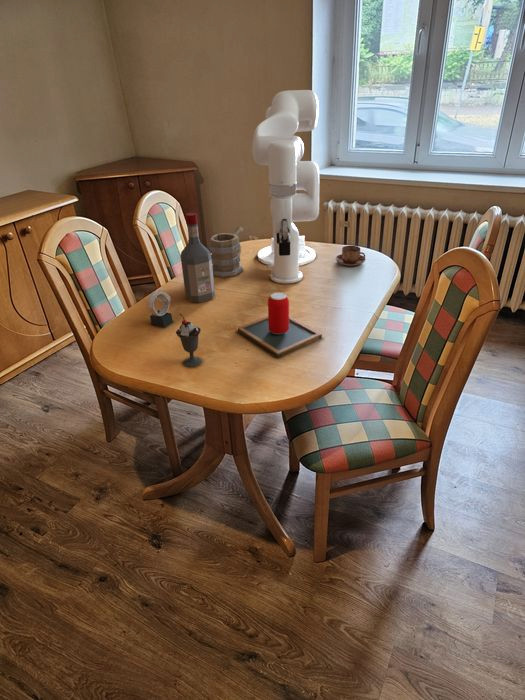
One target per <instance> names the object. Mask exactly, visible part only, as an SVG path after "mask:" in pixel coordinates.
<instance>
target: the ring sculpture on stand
mask: <svg viewBox="0 0 525 700" xmlns="http://www.w3.org/2000/svg"><path fill="white" fill-rule="evenodd" d="M156 299H158V300H159V301H161V303H162V307H161V309H159V310H157V309H156V308H155V305H154V304H155V300H156ZM171 299H172V298H171V296H170V295H169V294H168V293H166V292H165V291H163V290H155V291H153V292H152V293H150V295H149V297H148V301H147V307H148V311H149V312H150V315H149V320H150V325H152V326H156V327H159V328H166V327H167V326H169V325H171V324H173V323H174V320H173V313H171V312H168V311H169V309H170V304H171Z"/></svg>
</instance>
